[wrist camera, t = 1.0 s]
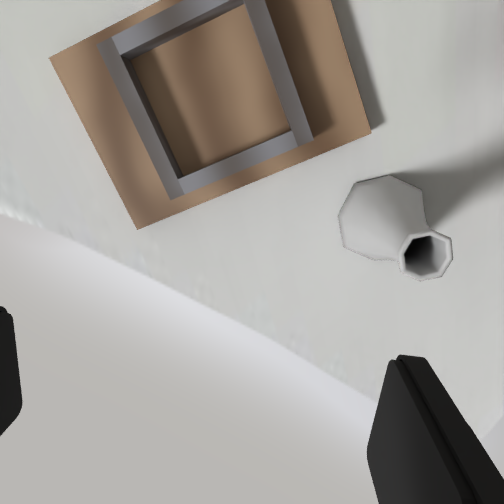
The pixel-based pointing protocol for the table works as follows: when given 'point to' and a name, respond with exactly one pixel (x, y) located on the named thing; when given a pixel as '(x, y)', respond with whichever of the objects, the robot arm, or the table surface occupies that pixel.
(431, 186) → the table surface
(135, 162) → the walnut board
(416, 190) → the flask
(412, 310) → the table surface
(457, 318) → the table surface
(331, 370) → the table surface
